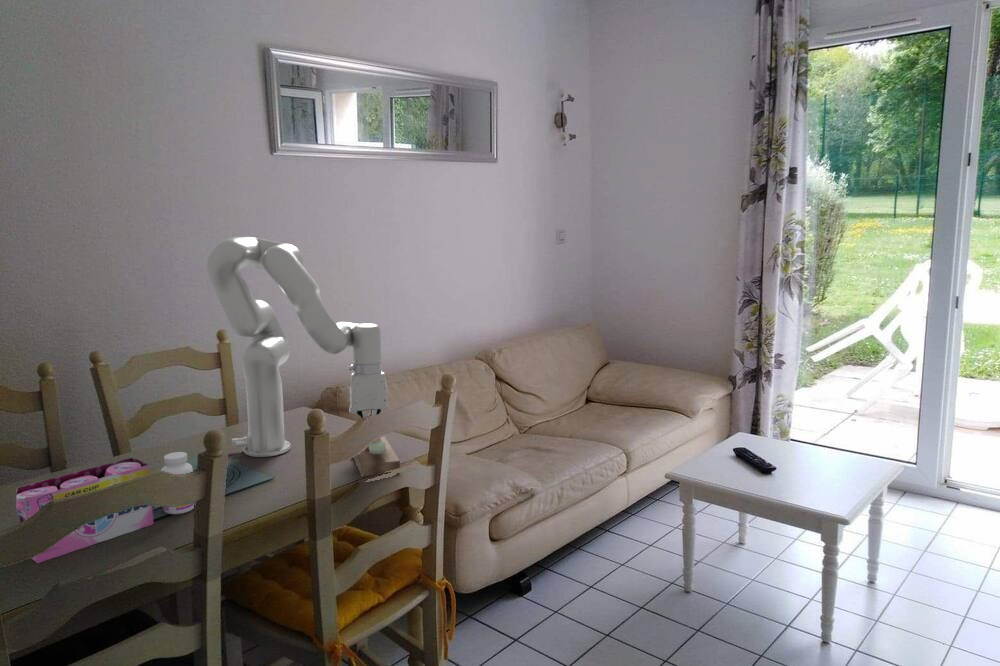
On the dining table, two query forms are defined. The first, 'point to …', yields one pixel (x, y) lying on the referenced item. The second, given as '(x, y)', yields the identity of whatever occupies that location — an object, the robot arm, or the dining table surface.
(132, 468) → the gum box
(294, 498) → the dining table surface
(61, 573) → the dining table surface
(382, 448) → the sage green button
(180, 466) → the supplement bottle
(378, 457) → the button panel
